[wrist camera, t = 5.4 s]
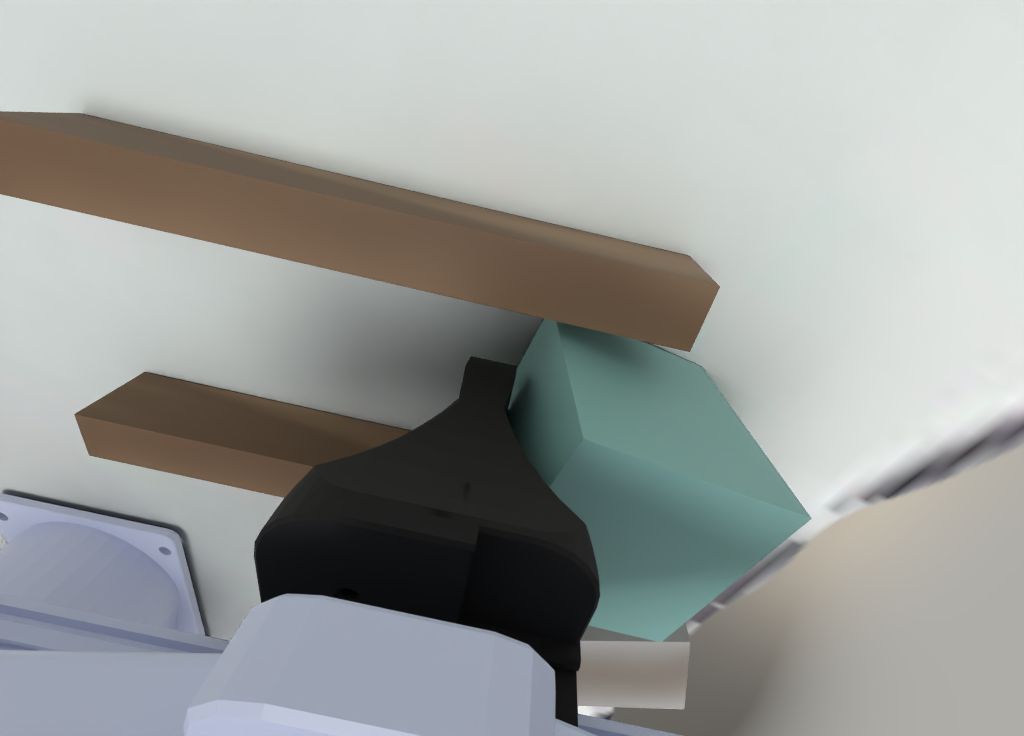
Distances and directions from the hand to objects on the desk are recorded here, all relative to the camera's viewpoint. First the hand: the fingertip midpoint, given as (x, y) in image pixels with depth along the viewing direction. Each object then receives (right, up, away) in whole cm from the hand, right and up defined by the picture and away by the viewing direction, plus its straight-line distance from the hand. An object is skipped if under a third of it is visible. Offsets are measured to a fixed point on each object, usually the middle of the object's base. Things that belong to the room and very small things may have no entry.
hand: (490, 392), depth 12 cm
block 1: (+3, 0, +2) cm, 3 cm away
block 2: (+5, -7, +6) cm, 11 cm away
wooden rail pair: (-4, +1, +2) cm, 4 cm away
